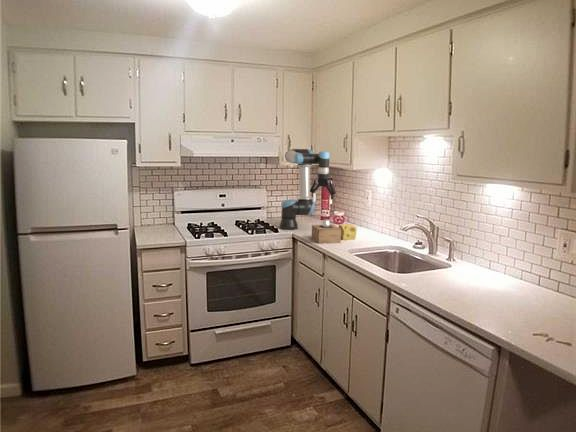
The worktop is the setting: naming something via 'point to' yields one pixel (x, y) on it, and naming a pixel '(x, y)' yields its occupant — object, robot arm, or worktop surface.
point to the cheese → (348, 232)
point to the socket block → (326, 234)
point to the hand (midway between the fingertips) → (322, 202)
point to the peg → (326, 223)
